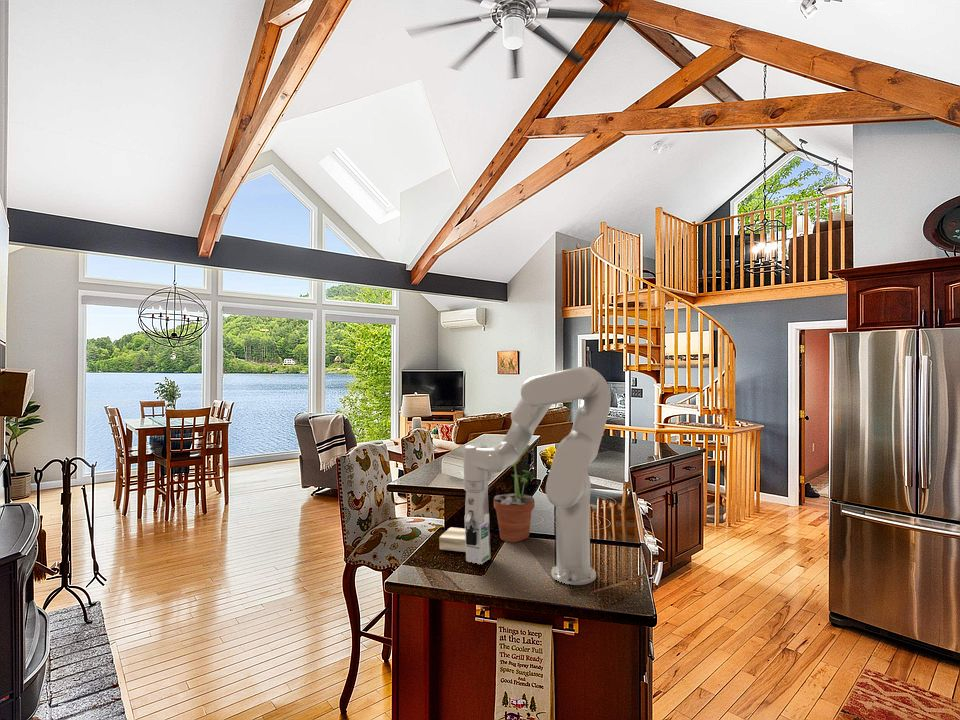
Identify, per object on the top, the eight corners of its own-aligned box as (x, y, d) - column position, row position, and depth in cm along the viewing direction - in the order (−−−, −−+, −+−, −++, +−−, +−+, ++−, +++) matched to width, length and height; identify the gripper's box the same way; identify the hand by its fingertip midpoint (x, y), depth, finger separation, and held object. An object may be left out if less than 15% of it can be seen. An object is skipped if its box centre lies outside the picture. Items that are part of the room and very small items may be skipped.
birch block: (468, 552, 168) (467, 540, 168) (439, 549, 172) (439, 537, 171) (477, 541, 178) (477, 529, 178) (450, 538, 181) (450, 527, 181)
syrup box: (481, 565, 158) (480, 517, 158) (465, 561, 161) (464, 514, 161) (491, 558, 163) (489, 512, 163) (475, 555, 166) (474, 509, 166)
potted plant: (545, 534, 182) (543, 435, 182) (518, 547, 171) (516, 441, 171) (511, 525, 193) (509, 431, 192) (483, 536, 182) (481, 437, 181)
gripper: (479, 492, 152) (479, 550, 153) (495, 478, 169) (495, 530, 169) (454, 490, 155) (455, 548, 155) (473, 476, 171) (473, 528, 172)
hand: (476, 539), depth 162 cm, fingers open, 9 cm apart
